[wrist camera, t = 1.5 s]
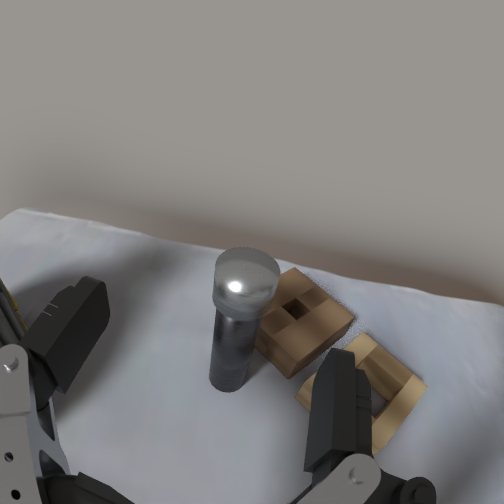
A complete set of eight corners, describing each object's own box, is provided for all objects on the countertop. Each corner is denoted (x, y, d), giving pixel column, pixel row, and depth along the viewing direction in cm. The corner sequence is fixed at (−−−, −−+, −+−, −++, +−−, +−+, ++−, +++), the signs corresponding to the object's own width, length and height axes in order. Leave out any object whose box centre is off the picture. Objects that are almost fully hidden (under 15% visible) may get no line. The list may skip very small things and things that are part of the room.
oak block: (351, 349, 36) (363, 331, 34) (411, 401, 31) (428, 386, 29) (294, 397, 30) (304, 381, 28) (363, 461, 25) (380, 450, 23)
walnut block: (288, 286, 43) (294, 267, 41) (344, 334, 38) (355, 316, 36) (229, 318, 37) (232, 298, 35) (288, 379, 32) (297, 362, 30)
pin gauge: (230, 352, 34) (251, 240, 24) (257, 381, 31) (293, 275, 22) (196, 371, 31) (202, 259, 22) (223, 403, 29) (244, 301, 19)
